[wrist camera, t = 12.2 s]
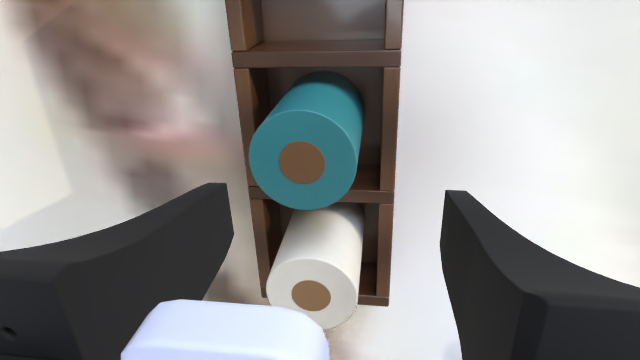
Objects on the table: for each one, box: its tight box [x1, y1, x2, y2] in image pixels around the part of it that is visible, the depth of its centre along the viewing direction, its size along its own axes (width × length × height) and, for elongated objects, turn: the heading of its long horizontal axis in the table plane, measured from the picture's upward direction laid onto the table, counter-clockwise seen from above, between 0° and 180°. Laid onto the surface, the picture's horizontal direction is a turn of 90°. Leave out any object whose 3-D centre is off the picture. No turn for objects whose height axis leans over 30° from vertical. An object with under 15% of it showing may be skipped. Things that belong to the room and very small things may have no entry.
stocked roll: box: [266, 202, 364, 330], centre depth 22 cm, size 4×4×6 cm
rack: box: [225, 0, 404, 307], centre depth 21 cm, size 20×7×4 cm, turn 2°
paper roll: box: [249, 71, 365, 210], centre depth 19 cm, size 4×4×6 cm
